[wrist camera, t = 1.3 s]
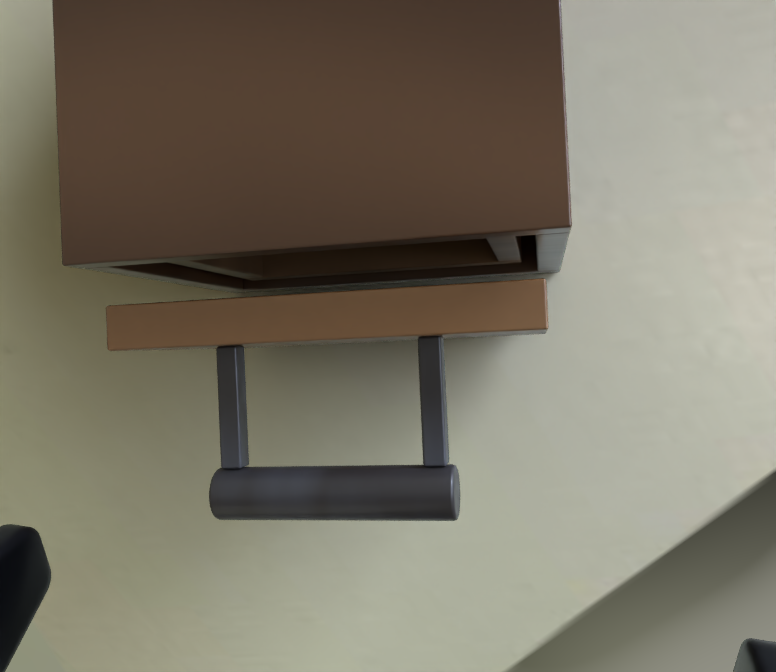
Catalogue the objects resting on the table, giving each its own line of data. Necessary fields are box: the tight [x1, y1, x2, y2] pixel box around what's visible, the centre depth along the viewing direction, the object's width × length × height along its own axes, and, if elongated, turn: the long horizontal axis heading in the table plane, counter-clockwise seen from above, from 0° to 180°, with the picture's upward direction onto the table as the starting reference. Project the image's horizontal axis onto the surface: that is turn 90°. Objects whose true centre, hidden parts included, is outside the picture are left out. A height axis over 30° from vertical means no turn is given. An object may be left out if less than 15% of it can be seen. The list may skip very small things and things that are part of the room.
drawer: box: [106, 236, 548, 521], centre depth 23 cm, size 17×11×9 cm, turn 2°
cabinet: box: [53, 0, 572, 293], centre depth 23 cm, size 14×13×11 cm
